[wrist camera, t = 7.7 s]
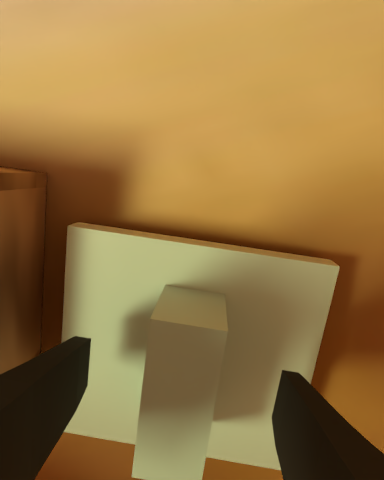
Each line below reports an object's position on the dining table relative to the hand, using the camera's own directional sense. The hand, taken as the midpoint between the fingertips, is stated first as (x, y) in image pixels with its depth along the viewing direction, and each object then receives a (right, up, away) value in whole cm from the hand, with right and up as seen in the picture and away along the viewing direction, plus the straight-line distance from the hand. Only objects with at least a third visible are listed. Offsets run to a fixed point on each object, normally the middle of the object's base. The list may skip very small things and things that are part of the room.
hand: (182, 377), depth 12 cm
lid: (0, 0, +3) cm, 3 cm away
